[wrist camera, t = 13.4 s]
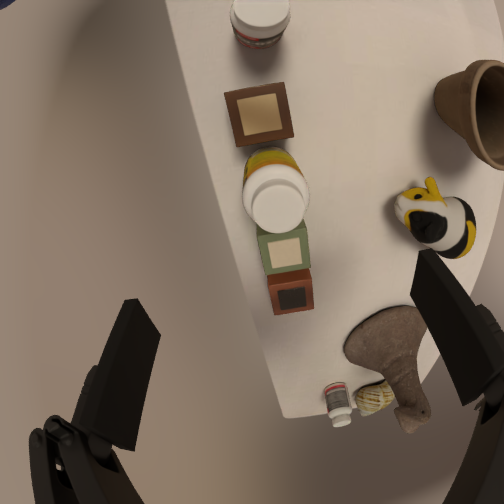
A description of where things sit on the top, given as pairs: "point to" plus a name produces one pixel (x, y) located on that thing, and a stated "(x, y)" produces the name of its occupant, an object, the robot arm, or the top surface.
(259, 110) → the block near
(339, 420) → the pill bottle
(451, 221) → the figurine
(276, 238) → the block far
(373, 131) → the top surface
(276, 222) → the supplement bottle
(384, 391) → the seashell
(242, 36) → the pill bottle
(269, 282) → the block end
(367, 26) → the top surface
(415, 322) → the sculpture
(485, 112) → the flower pot
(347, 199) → the top surface
